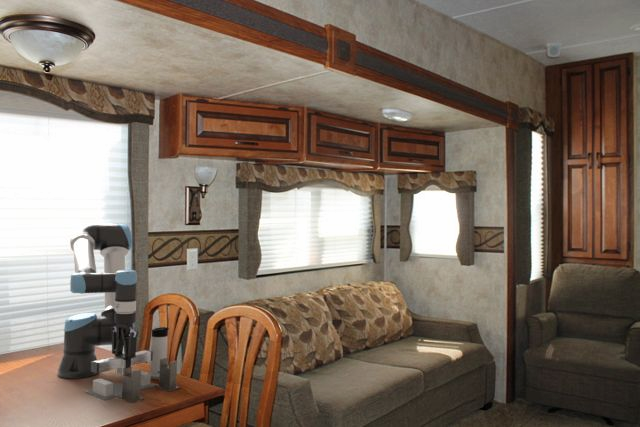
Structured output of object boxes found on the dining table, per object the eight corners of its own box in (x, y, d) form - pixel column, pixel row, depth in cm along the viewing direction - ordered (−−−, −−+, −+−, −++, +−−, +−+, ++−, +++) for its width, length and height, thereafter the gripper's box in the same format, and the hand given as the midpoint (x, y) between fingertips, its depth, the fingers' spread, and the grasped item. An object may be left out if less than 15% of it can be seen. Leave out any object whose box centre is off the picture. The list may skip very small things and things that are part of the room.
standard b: (155, 387, 208) (156, 359, 207) (165, 384, 212) (167, 356, 212) (169, 391, 203) (170, 363, 203) (179, 388, 207) (180, 360, 207)
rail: (90, 371, 195) (91, 361, 195) (146, 358, 214) (146, 349, 214) (96, 373, 193) (97, 363, 193) (152, 360, 212) (152, 351, 212)
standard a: (117, 397, 194) (119, 368, 194) (130, 394, 199) (131, 365, 198) (131, 403, 190) (133, 372, 190) (144, 399, 194) (145, 369, 194)
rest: (85, 392, 198) (85, 379, 198) (137, 378, 216) (137, 367, 216) (104, 400, 191) (105, 387, 191) (156, 385, 209) (157, 373, 209)
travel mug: (162, 380, 216) (164, 329, 216) (146, 378, 217) (148, 328, 217) (169, 375, 222) (171, 326, 222) (154, 374, 223) (156, 325, 223)
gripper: (102, 310, 205) (100, 372, 205) (130, 316, 196) (127, 382, 196) (120, 307, 212) (118, 368, 212) (147, 313, 202) (145, 377, 202)
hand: (122, 375), depth 204 cm, fingers closed on rail, 3 cm apart
